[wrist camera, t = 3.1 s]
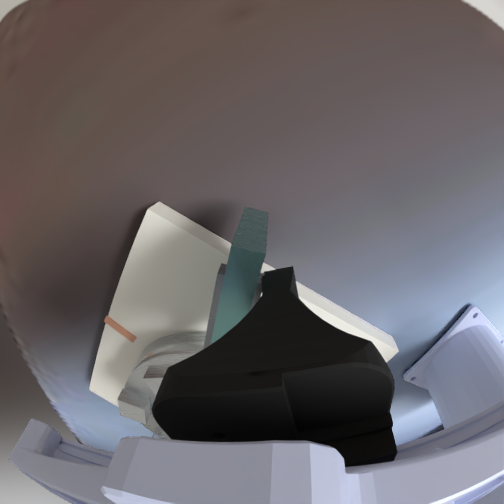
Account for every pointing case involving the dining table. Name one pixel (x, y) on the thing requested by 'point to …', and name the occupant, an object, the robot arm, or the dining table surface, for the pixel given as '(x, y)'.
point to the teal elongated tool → (220, 320)
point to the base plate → (183, 297)
